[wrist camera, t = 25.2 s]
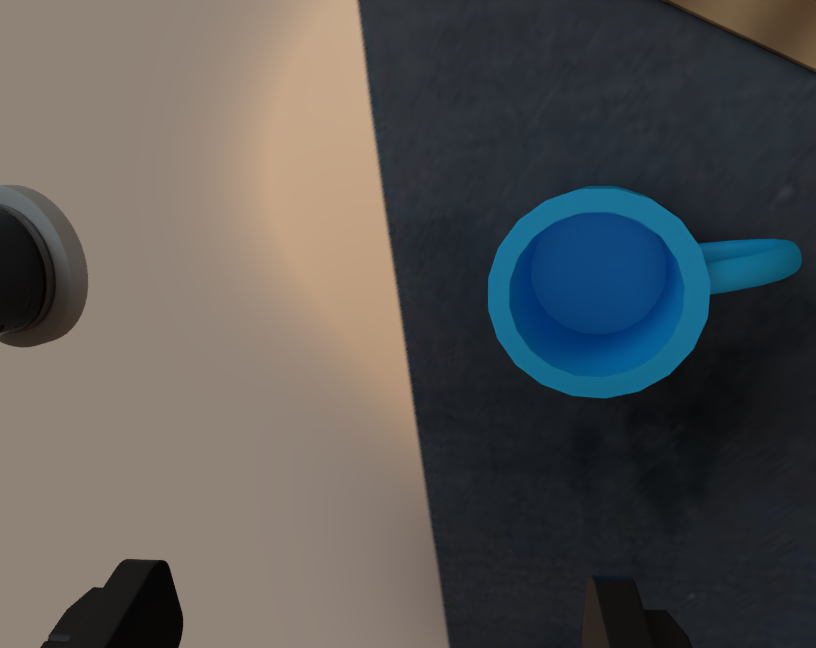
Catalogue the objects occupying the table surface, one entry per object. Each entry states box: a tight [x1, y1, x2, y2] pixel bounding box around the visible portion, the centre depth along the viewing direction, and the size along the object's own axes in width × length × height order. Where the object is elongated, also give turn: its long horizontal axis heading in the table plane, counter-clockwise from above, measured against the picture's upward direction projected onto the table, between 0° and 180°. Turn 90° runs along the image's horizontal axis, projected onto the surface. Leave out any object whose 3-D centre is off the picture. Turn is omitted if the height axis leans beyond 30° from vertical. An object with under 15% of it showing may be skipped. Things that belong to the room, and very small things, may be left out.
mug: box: [488, 186, 802, 398], centre depth 26 cm, size 12×8×8 cm
